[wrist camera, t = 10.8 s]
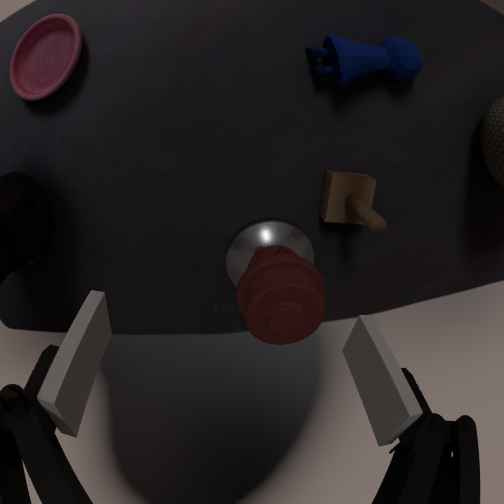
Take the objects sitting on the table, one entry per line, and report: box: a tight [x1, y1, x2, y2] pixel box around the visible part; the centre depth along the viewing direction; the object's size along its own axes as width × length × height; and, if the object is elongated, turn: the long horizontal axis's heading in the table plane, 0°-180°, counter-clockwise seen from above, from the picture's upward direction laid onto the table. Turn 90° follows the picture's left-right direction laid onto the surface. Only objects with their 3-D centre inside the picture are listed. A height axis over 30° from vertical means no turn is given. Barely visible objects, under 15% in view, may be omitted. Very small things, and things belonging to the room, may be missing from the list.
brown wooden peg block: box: [319, 169, 387, 234], centre depth 32 cm, size 6×6×11 cm
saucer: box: [10, 14, 82, 101], centre depth 24 cm, size 12×12×3 cm
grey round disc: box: [226, 218, 314, 287], centre depth 40 cm, size 12×12×2 cm
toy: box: [306, 33, 421, 87], centre depth 26 cm, size 7×6×15 cm
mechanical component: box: [236, 245, 325, 345], centre depth 34 cm, size 12×10×10 cm
